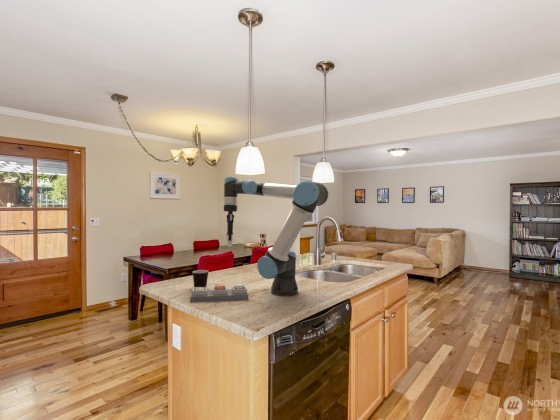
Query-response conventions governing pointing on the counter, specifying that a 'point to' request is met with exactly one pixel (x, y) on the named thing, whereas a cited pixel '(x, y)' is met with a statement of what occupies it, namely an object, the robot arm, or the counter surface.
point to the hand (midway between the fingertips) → (229, 246)
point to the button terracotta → (219, 287)
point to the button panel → (218, 294)
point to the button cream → (239, 286)
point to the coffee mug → (200, 278)
